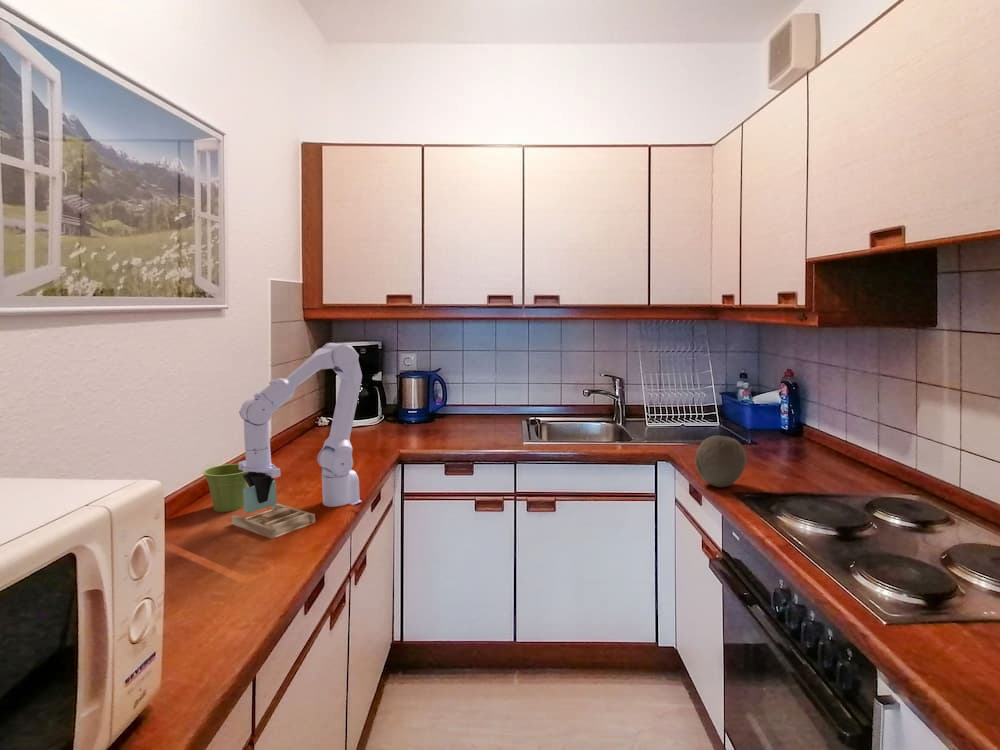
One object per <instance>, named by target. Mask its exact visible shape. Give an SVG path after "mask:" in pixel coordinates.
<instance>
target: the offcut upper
mask: <svg viewBox="0 0 1000 750" xmlns="http://www.w3.org/2000/svg"><path fill="white" fill-rule="evenodd" d="M290 514H291V513H290V509H288V508H281V509H278V510H275V511H273V512H270V513H267V514H264V515H262V521H264V522H270V521H273V520H276V519H279V518H282V517H284V516H287V515H290Z"/></svg>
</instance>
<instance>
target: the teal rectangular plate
mask: <svg viewBox="0 0 1000 750" xmlns="http://www.w3.org/2000/svg"><path fill="white" fill-rule="evenodd" d="M276 488H277V487H276V480H273V482H272V484H271V487H270V491H269V496H268V500H267V501H266V502H263V503H259V502H258V499H257V494H256V489H255V485H254V486H251V487H249V486H247V488H244V489H243V494H244V507H243V509H244V514H251V513H253V512H257V511H260V510H262V509H266V508H268V507H272V505H275V504H277V503H278V502H277V489H276Z"/></svg>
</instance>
